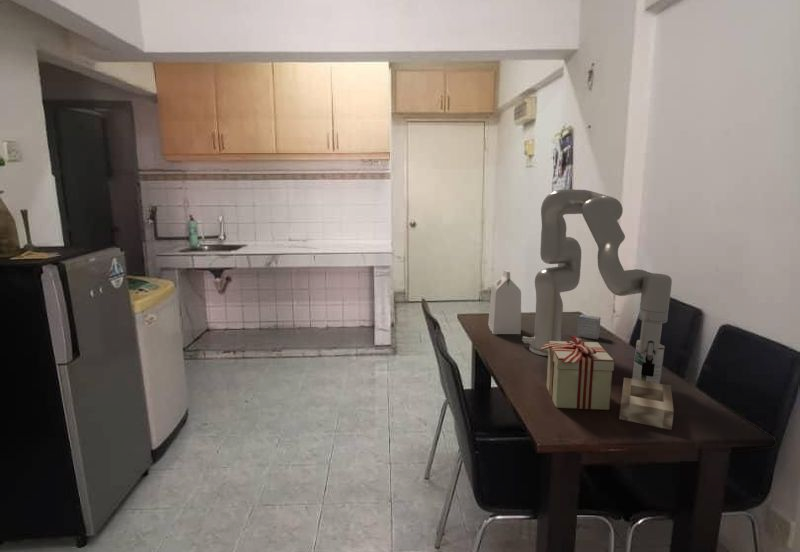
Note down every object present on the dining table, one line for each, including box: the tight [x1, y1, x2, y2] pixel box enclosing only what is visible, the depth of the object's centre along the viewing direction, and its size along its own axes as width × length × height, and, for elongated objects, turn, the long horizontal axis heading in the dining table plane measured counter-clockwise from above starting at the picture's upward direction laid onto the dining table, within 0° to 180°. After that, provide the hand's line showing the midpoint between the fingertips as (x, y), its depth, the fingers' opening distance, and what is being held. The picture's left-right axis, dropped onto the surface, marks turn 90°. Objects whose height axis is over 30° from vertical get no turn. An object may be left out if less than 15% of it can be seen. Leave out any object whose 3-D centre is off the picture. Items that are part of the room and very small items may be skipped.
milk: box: [487, 269, 522, 335], centre depth 197 cm, size 12×12×26 cm
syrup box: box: [631, 339, 666, 384], centre depth 141 cm, size 6×6×14 cm
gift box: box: [539, 335, 615, 411], centre depth 133 cm, size 17×18×17 cm
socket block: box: [619, 377, 675, 431], centre depth 127 cm, size 12×18×5 cm, turn 152°
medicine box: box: [576, 314, 601, 340], centre depth 191 cm, size 8×4×9 cm, turn 57°
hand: (647, 370), depth 142 cm, fingers closed on syrup box, 7 cm apart
